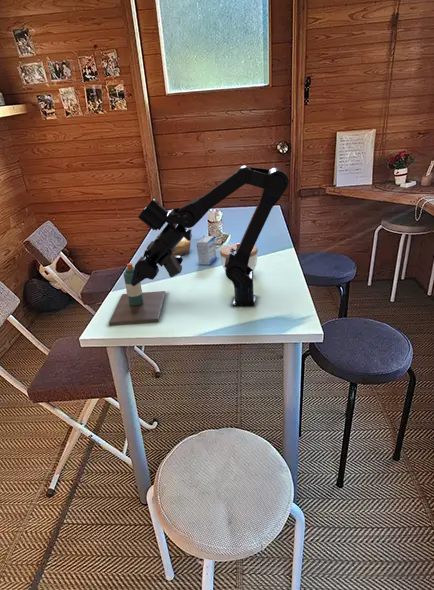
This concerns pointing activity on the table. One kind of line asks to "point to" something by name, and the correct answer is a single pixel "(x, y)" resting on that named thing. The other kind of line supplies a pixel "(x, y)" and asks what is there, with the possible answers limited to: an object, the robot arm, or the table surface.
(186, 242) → the pastry
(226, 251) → the lidded bowl
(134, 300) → the glue bottle
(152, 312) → the desk board
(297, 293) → the table surface
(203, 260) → the medicine box
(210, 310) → the table surface
